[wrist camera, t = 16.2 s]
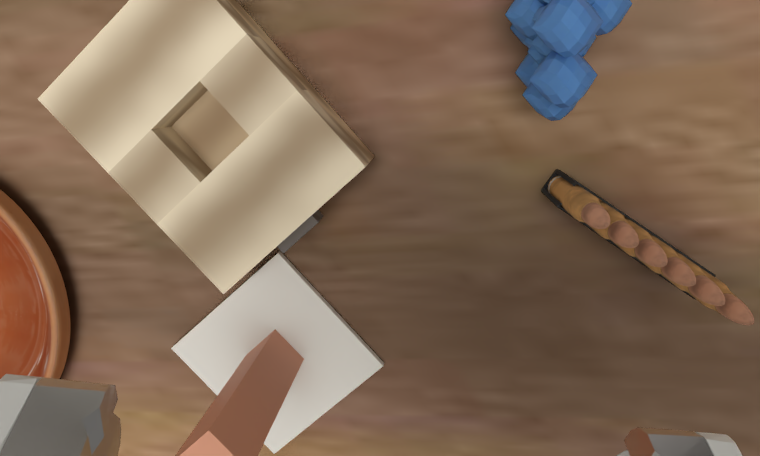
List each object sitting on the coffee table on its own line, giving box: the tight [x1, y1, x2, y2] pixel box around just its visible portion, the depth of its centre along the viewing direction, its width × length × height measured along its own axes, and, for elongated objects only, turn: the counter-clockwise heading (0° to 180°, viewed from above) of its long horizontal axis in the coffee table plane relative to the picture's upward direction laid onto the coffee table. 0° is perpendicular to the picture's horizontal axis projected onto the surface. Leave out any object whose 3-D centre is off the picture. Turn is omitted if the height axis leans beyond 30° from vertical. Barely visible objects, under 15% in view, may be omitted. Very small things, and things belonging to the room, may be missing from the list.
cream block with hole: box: [38, 0, 375, 294], centre depth 41 cm, size 17×12×6 cm
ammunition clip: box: [541, 169, 754, 325], centre depth 37 cm, size 11×2×12 cm, turn 57°
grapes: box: [505, 0, 632, 121], centre depth 35 cm, size 12×7×12 cm, turn 4°
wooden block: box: [175, 329, 304, 456], centre depth 40 cm, size 3×3×14 cm
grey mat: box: [171, 251, 384, 454], centre depth 47 cm, size 11×11×1 cm
